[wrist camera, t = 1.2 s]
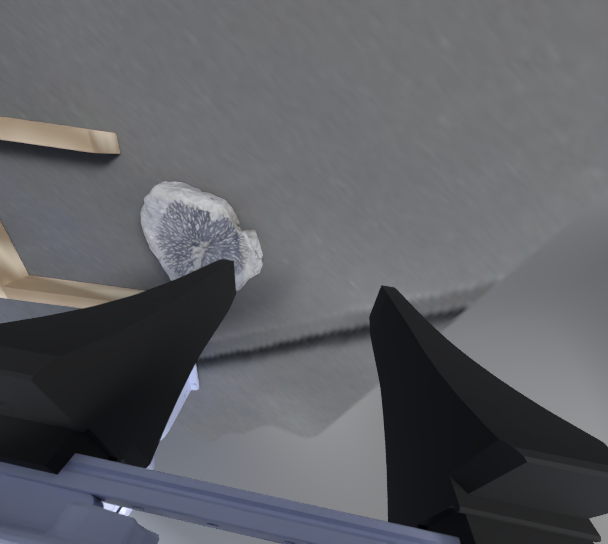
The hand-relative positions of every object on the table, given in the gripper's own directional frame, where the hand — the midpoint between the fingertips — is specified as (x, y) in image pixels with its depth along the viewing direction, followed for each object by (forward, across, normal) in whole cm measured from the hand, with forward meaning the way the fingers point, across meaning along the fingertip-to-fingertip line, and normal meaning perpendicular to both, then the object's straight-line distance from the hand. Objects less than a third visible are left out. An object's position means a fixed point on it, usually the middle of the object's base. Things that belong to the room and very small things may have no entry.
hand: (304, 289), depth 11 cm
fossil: (+11, +11, +4) cm, 15 cm away
